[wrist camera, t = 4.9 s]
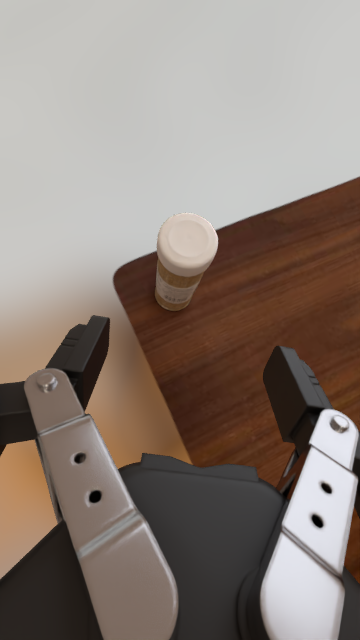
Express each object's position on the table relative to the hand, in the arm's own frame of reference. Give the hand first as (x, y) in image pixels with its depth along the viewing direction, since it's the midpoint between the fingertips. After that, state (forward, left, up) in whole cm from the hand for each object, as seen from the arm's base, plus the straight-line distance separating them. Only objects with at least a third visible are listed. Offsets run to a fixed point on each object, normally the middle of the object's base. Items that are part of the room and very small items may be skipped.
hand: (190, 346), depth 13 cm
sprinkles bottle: (+5, +7, -18) cm, 20 cm away
